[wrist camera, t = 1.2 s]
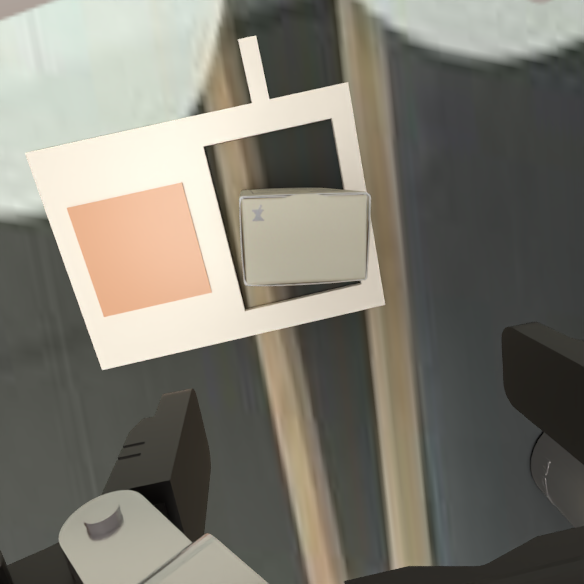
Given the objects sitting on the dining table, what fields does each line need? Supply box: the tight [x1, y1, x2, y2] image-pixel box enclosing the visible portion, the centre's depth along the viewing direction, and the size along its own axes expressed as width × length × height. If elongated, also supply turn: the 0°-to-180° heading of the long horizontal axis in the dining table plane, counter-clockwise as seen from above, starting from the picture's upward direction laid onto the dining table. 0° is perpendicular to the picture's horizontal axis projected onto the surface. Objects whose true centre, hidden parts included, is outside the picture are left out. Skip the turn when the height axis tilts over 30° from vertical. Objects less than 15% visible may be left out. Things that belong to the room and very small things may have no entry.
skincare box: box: [239, 188, 371, 286], centre depth 27 cm, size 6×4×12 cm
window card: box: [25, 36, 385, 370], centre depth 32 cm, size 22×20×1 cm
